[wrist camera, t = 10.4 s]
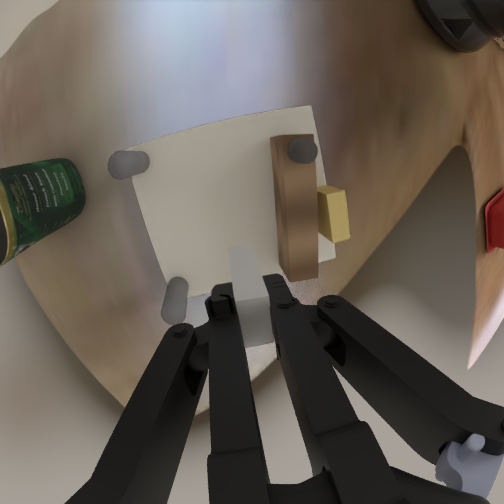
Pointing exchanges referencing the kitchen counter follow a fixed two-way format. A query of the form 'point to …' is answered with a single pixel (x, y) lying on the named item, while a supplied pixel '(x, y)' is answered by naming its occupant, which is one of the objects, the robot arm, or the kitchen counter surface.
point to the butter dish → (495, 222)
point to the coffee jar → (36, 202)
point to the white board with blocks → (220, 199)
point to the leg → (296, 204)
